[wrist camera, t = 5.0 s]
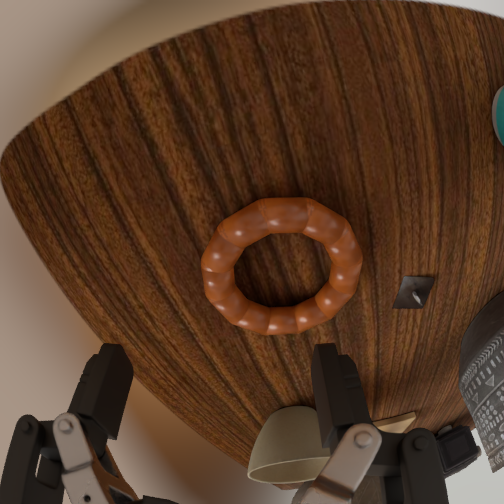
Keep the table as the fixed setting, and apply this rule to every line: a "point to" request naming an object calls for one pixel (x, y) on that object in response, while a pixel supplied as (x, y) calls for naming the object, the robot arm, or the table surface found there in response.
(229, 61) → the table surface
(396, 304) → the small square plate
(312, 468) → the flower pot
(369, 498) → the bowl
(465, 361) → the planter
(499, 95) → the beverage can
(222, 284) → the ring
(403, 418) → the stand
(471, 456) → the camera
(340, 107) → the table surface
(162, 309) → the table surface
